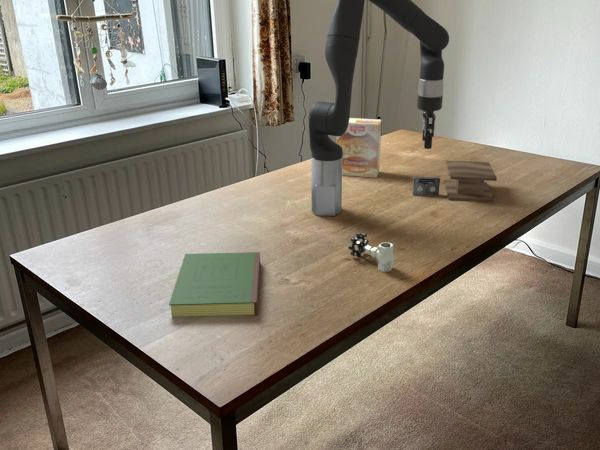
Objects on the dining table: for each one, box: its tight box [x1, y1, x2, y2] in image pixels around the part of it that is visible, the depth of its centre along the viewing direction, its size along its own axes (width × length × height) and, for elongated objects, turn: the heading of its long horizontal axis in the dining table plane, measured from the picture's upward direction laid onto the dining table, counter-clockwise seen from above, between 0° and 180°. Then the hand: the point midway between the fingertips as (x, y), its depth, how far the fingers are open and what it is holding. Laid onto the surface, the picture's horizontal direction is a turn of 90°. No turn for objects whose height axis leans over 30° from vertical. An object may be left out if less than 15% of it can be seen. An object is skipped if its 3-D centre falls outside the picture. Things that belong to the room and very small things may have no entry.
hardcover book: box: [168, 251, 261, 318], centre depth 141 cm, size 25×19×4 cm
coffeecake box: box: [335, 117, 383, 178], centre depth 212 cm, size 15×7×20 cm, turn 76°
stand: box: [443, 160, 498, 203], centre depth 196 cm, size 16×14×8 cm
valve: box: [347, 232, 395, 273], centre depth 151 cm, size 7×7×12 cm
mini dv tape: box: [412, 176, 441, 197], centre depth 194 cm, size 8×2×6 cm, turn 84°
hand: (426, 144), depth 190 cm, fingers open, 8 cm apart
